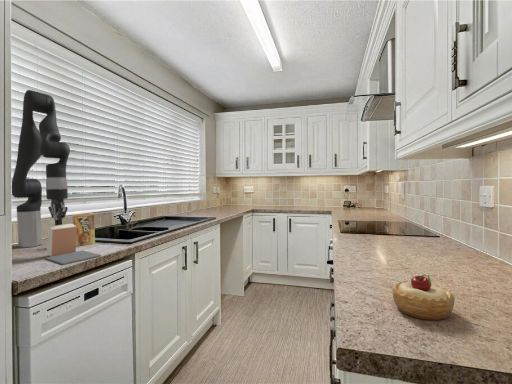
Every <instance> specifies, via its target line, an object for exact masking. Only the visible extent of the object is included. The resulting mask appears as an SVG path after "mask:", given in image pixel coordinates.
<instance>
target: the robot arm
mask: <svg viewBox="0 0 512 384" xmlns="http://www.w3.org/2000/svg"><path fill="white" fill-rule="evenodd" d="M55 104H56V103H55V100H54V98H53V96H51V94H50V95H49V94H46V93H44V92H40V91H35V90H31V89H27V90H26V91H25V93H24V95H23V102H22V119H21V129H20V133H19V134H20V136H19V141H18V147H17V156H16V161H15V162H16V163H15V167H14V172H13V176H12V179H11V183H12V193H11V195H12V196H13V198H17V199H21V198H22V199H24V198H25V199H26V198H27V200H26V201H25V202H23V203H21V204H19V205H17V206H16V222H17V223H16V224H17V242H18V243H17V246H18V248H30V247H31V248H32V247H37V246H41V245H43V238H42V237H43V234H42V231H43V230H42V215H41V214H42V213H41V212H42V211H41V210H42V209H41V207H42V203H43V200H42V197H43V188H42V187H43V186H42V183H41V181H40V180H39V179H37V178H27V177H28V173H29V171H30V170H31V168H32V167H33V166H34V165H35V164H36V163H37V162H38V161H39V159H40V158H41V156H42V157H44V158H45V159H48V158H49V159H59V160H58V161H57V162H53V163H48V164H46V165H45V176H46V177H45V178H46V179H45V194H46V195H45V196H46V199H47V200H48V201H50V200H51V202H50V206H48V211H49V213H50V216H51V219H53V220H54V226H56V225H63V219H64V218H66V215H67V212H68V206H66V204H65V200H67V199H68V198H69V196H68V195H69V193H68V182H67V163H68V159H69V156H70V152H71V148H70V146H69V144H68V143H66V142H63V141H62V142H61V140H62V137H61V133H60V130H59V127H58V122H57V111H56V105H55ZM34 112H35V113H40V114H45V117H43V118H42V120H41V121H40V122H39V124H38V127H37V126H36V122H35V121H34Z"/></svg>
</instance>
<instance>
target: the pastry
mask: <svg viewBox="0 0 512 384" xmlns="http://www.w3.org/2000/svg"><path fill="white" fill-rule="evenodd" d="M391 289H392V298H393V302H394V303H395V305H396V307H397V308H398V310H399V311H401V313H403V314H405V315H407V316H410V317H413V318H416V319H419V320H425V321H443V320H445V319H447V318H448V317H449V316H450V315H451V313H452V311H453V310H454V306H455V296H454V295H453V293H451V291H450V290H449V289H446V288H445V287H443V286H439V285H438V284H432V281H431V278H430V275H428V274H427V273H425V274H422V275H415V276H413V277H411V278H410V281H407V280H405V281H400V282H398V283H396V284H394V285H393V287H392V288H391Z"/></svg>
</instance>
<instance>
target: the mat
mask: <svg viewBox="0 0 512 384" xmlns="http://www.w3.org/2000/svg"><path fill="white" fill-rule="evenodd" d="M100 257H102V254H99V253H95V252H90V251H86V250H77V251H76V252H71V253H66V254H61V255H56V256H51V257H50V256H47V257H45V258H44V259H45V260H46V261H50V262H53V263H57V264H58V265H59V264H60V265H62V266H65V265H69V264H73V263H80V262H82V261H87V260H91V259H96V258H100Z"/></svg>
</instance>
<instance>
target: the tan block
mask: <svg viewBox="0 0 512 384" xmlns="http://www.w3.org/2000/svg"><path fill="white" fill-rule="evenodd" d="M76 237H77V226H75V225H73V223H67V224H65V223H64V224H62V225H56V226H55V225H48V226H47V237H46V239H47V240H46V255H48V257H51V256H56V255H61V254H66V253H71V252H76V250H77V246H76Z"/></svg>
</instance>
